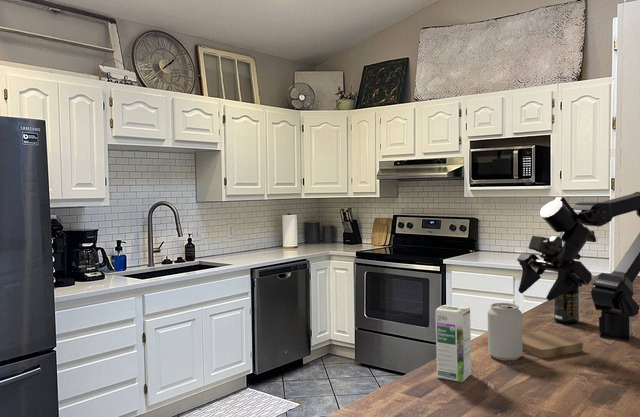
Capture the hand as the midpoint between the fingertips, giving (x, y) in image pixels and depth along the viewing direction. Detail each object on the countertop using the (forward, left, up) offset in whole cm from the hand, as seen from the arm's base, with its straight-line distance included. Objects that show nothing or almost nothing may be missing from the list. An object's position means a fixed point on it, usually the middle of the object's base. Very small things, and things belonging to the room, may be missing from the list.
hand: (533, 295), depth 124 cm
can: (+4, +8, -13) cm, 16 cm away
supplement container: (+1, -30, -13) cm, 33 cm away
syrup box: (+8, +26, -13) cm, 30 cm away
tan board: (-1, -3, -13) cm, 14 cm away
